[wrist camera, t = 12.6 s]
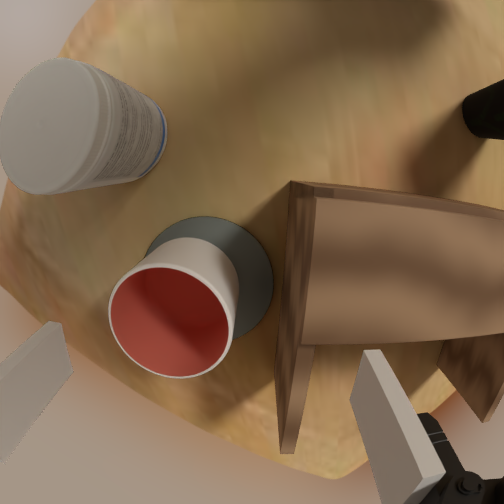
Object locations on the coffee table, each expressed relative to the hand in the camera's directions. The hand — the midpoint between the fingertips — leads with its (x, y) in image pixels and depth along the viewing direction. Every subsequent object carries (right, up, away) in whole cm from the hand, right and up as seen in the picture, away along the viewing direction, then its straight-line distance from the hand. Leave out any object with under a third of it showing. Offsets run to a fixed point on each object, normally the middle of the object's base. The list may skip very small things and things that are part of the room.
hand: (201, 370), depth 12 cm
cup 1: (-4, +2, +20) cm, 21 cm away
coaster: (-3, +2, +21) cm, 21 cm away
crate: (+17, +1, +21) cm, 27 cm away
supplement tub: (-11, +17, +17) cm, 26 cm away
